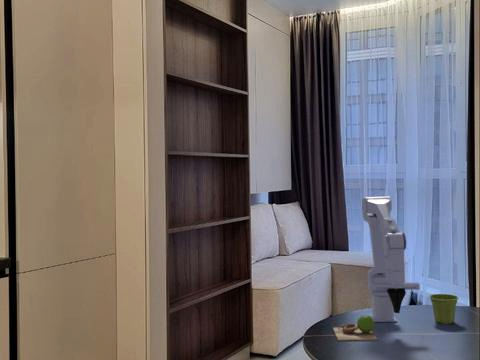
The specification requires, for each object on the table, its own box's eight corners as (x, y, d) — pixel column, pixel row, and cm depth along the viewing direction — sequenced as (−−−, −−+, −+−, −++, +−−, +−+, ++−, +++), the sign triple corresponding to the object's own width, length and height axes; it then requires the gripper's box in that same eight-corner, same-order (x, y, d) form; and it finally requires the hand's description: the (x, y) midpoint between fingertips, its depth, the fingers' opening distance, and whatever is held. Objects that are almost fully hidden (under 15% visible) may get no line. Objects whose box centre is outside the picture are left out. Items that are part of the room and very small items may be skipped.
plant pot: (462, 325, 172) (461, 299, 172) (432, 325, 174) (431, 299, 174) (456, 318, 181) (455, 294, 181) (428, 318, 183) (427, 293, 183)
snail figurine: (370, 310, 169) (335, 319, 171) (372, 316, 163) (335, 326, 165) (375, 325, 169) (340, 334, 171) (377, 332, 163) (340, 342, 165)
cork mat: (333, 328, 173) (333, 327, 173) (369, 328, 173) (369, 326, 173) (338, 340, 160) (337, 339, 160) (377, 340, 159) (377, 339, 159)
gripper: (374, 272, 162) (376, 315, 162) (421, 271, 161) (423, 315, 161) (370, 268, 169) (372, 310, 169) (415, 268, 168) (417, 309, 168)
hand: (396, 312), depth 165 cm, fingers closed
